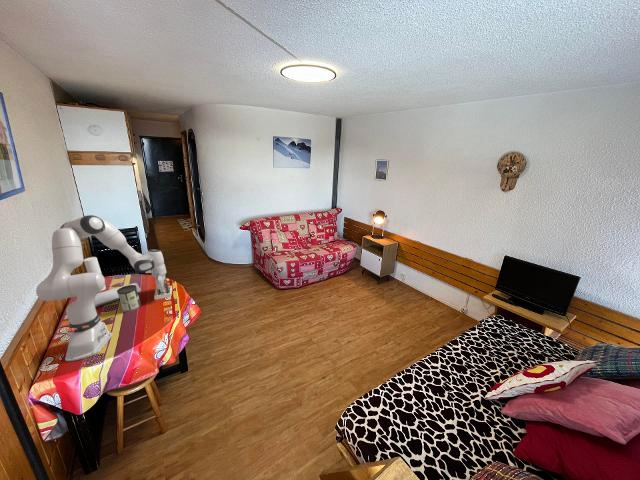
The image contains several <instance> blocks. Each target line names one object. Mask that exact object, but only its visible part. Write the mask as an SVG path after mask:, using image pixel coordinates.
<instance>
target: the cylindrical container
mask: <svg viewBox="0 0 640 480" xmlns="http://www.w3.org/2000/svg"><path fill="white" fill-rule="evenodd" d="M83 259H84V261H83V264H84V265H85V269H86V273H100V274H101V275H103V273H102V271H101V267H100V264H99V261H98V258H97V257H96V256H91V257H90V256H89V257H87V258H83ZM106 288H107V287H106V284H105V285H104V287H103V288H102V289H101V290H100V291H99V292H98V293H101V292H104V290H105V291H106Z"/></svg>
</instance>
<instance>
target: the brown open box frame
mask: <svg viewBox="0 0 640 480" xmlns="http://www.w3.org/2000/svg"><path fill="white" fill-rule="evenodd" d="M164 285H165V286H164V287H165V289H166V294H168V292H169V289H168V286H169V285H168V281H167V278H165V279H164ZM156 289H157V288H156ZM157 292H158V295H160V293H161V291H160V289H157Z"/></svg>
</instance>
